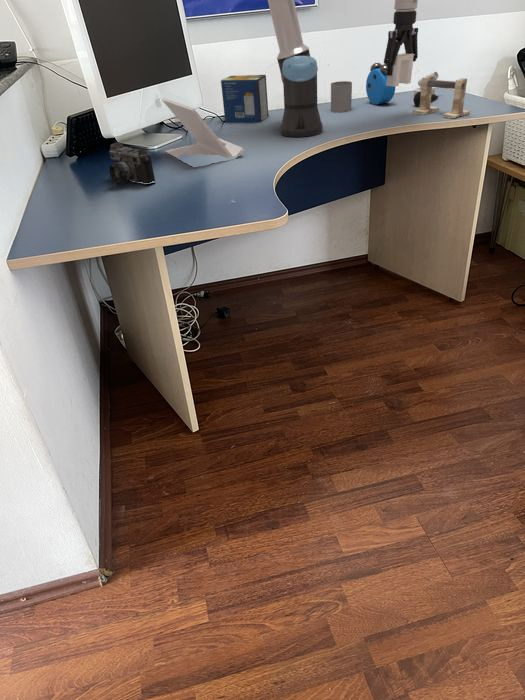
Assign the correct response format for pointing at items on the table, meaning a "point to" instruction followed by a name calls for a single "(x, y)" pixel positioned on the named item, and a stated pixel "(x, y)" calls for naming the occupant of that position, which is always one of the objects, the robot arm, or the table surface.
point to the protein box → (245, 98)
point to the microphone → (417, 98)
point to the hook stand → (429, 83)
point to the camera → (130, 164)
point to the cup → (341, 96)
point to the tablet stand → (200, 134)
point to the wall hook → (435, 77)
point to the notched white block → (403, 69)
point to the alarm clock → (379, 85)
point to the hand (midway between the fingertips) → (398, 83)
